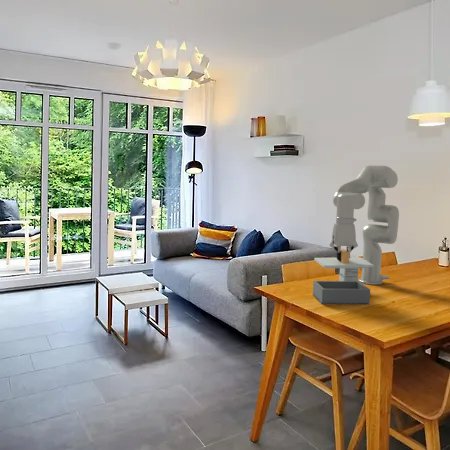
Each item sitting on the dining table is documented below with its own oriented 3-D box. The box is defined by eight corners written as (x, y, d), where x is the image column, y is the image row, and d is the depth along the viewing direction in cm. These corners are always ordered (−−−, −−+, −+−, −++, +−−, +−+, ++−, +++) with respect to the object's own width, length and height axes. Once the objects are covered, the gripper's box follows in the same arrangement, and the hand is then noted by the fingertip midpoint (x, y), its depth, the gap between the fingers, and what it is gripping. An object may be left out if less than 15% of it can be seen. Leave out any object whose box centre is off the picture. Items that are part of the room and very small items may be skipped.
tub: (357, 295, 216) (358, 281, 216) (369, 304, 202) (370, 289, 201) (312, 295, 215) (313, 280, 214) (321, 304, 200) (322, 289, 199)
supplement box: (338, 287, 230) (339, 263, 229) (352, 287, 231) (353, 263, 229) (343, 291, 223) (344, 266, 221) (357, 291, 223) (359, 266, 222)
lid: (360, 260, 215) (361, 247, 214) (373, 268, 200) (374, 254, 199) (314, 261, 214) (314, 247, 213) (323, 269, 198) (324, 254, 197)
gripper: (359, 219, 208) (357, 258, 211) (324, 220, 207) (323, 258, 210) (365, 222, 201) (363, 262, 203) (329, 222, 199) (328, 262, 202)
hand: (343, 260), depth 206 cm, fingers closed on lid, 3 cm apart
